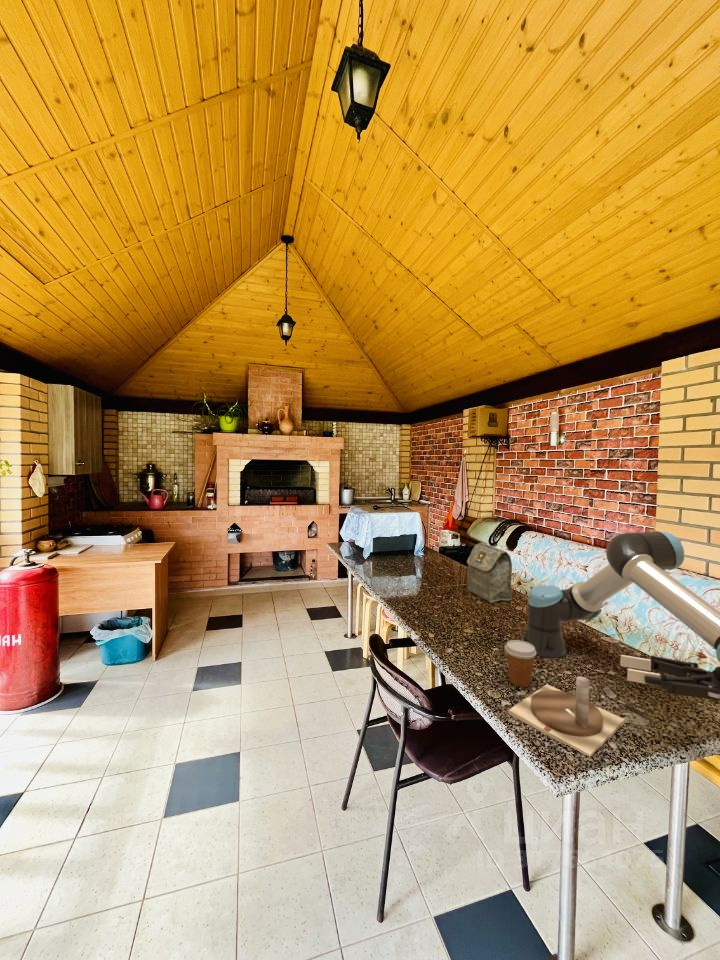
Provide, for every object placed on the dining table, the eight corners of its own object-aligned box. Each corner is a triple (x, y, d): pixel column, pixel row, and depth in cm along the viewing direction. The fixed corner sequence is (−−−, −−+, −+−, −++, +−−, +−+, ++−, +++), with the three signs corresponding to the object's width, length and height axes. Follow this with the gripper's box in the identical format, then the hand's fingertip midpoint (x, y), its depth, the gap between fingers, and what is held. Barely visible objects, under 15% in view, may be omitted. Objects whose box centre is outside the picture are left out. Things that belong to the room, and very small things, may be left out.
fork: (651, 726, 110) (651, 719, 110) (601, 693, 126) (602, 687, 126) (658, 724, 111) (658, 717, 111) (608, 692, 126) (608, 686, 126)
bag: (463, 590, 223) (464, 541, 222) (488, 587, 228) (489, 540, 227) (487, 604, 202) (488, 550, 200) (514, 601, 207) (515, 548, 205)
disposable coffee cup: (510, 670, 138) (510, 636, 138) (539, 680, 132) (540, 645, 132) (499, 682, 131) (500, 646, 130) (530, 693, 125) (531, 656, 124)
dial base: (546, 687, 129) (546, 683, 129) (624, 722, 111) (624, 718, 111) (508, 713, 115) (508, 709, 115) (590, 758, 98) (590, 754, 98)
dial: (518, 697, 121) (519, 653, 120) (573, 692, 123) (574, 649, 123) (555, 738, 103) (557, 687, 102) (619, 732, 105) (621, 682, 105)
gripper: (762, 728, 85) (633, 703, 93) (719, 680, 103) (615, 663, 112) (764, 693, 84) (634, 671, 93) (721, 652, 103) (616, 637, 111)
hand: (624, 667), depth 102 cm, fingers open, 7 cm apart
